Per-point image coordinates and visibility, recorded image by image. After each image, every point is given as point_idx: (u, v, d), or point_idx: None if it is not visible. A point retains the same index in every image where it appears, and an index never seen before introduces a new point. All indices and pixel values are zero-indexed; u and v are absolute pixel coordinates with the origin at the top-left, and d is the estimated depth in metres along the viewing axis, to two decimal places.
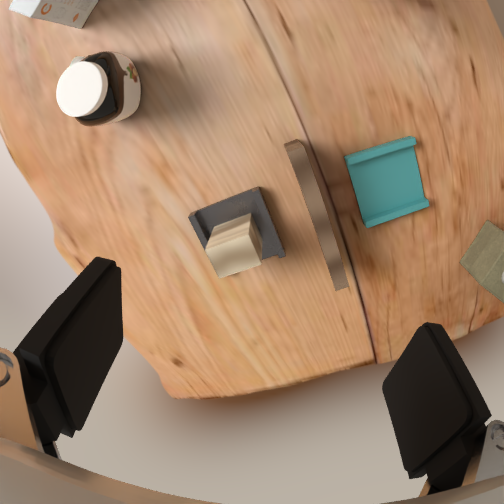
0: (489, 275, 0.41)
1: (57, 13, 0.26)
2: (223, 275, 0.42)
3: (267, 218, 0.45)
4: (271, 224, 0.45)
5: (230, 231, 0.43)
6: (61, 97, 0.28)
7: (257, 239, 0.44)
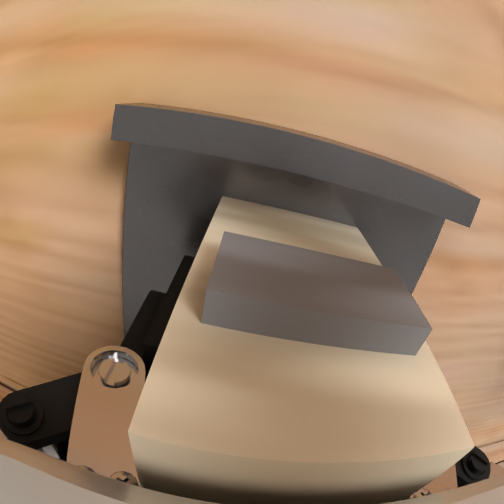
0: None
1: None
2: (152, 462, 0.03)
3: None
4: None
5: None
6: None
7: None
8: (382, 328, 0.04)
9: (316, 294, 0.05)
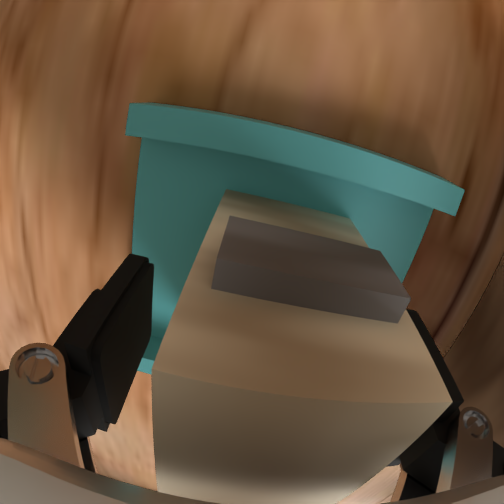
0: None
1: None
2: (168, 403, 0.04)
3: None
4: None
5: None
6: None
7: None
8: (366, 295, 0.05)
9: (308, 265, 0.06)
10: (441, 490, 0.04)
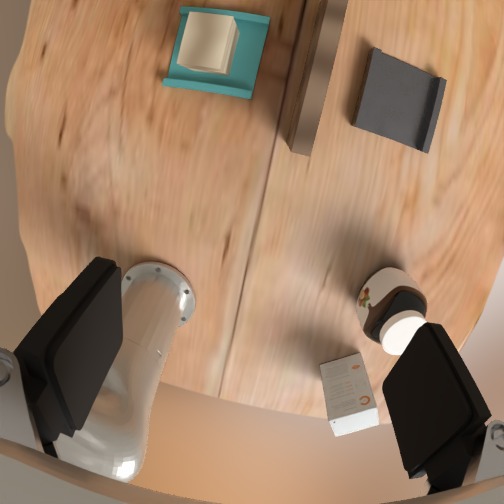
0: None
1: (362, 386, 0.46)
2: (190, 17, 0.24)
3: (366, 94, 0.33)
4: (366, 87, 0.32)
5: (229, 50, 0.29)
6: None
7: (201, 69, 0.31)
8: None
9: None
10: None
